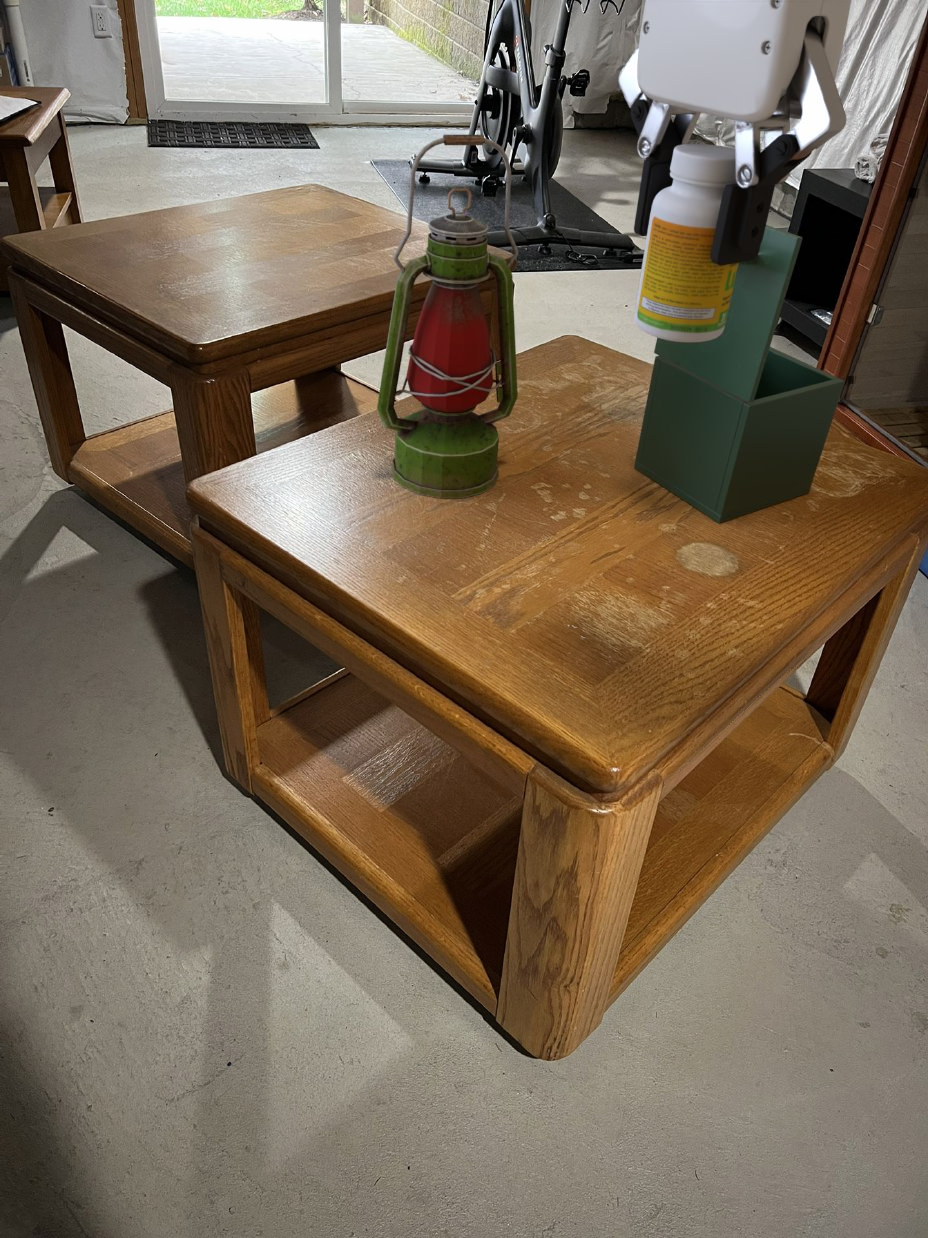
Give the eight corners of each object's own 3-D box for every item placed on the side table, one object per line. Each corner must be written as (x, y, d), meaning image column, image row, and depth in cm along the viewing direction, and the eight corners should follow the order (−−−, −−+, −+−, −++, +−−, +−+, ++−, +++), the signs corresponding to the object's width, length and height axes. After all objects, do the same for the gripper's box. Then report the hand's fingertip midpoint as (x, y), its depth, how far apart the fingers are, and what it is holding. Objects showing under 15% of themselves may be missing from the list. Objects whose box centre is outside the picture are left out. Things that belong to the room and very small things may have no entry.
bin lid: (693, 198, 80) (646, 200, 77) (803, 237, 72) (755, 240, 69) (658, 352, 88) (614, 358, 85) (753, 401, 80) (709, 410, 77)
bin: (721, 442, 101) (748, 336, 94) (809, 492, 93) (845, 380, 86) (633, 467, 95) (655, 356, 88) (719, 523, 87) (750, 406, 80)
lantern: (492, 440, 98) (520, 121, 80) (530, 490, 90) (570, 148, 72) (363, 453, 94) (361, 120, 76) (390, 506, 86) (396, 148, 68)
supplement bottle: (731, 347, 54) (773, 163, 48) (638, 341, 54) (668, 157, 48) (714, 315, 58) (750, 143, 52) (628, 310, 58) (654, 137, 52)
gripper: (992, -165, 39) (859, 281, 49) (696, -158, 50) (640, 205, 61) (879, -183, 35) (762, 301, 46) (587, -171, 46) (549, 216, 57)
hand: (693, 242), depth 53 cm, fingers closed on supplement bottle, 5 cm apart
